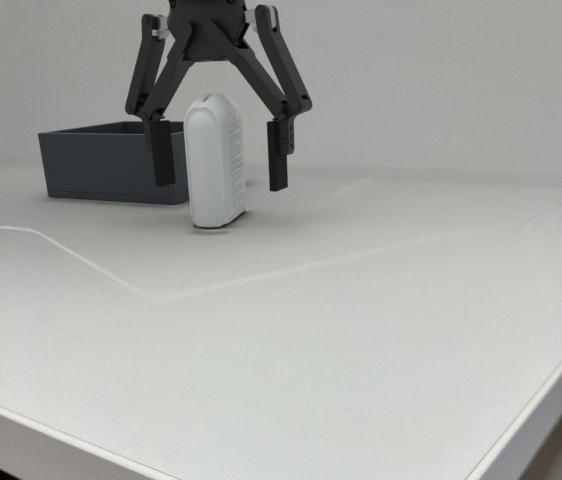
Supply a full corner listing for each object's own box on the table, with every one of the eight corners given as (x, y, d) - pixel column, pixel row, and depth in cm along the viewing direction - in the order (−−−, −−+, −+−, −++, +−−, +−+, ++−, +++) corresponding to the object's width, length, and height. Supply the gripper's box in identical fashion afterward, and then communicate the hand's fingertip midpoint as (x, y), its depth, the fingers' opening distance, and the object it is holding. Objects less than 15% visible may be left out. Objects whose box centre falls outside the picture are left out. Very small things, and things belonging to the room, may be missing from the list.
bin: (48, 196, 89) (37, 133, 86) (130, 175, 103) (123, 120, 100) (175, 204, 81) (168, 135, 78) (244, 181, 95) (241, 121, 92)
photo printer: (214, 208, 78) (206, 91, 73) (251, 208, 77) (245, 90, 72) (186, 228, 69) (174, 96, 64) (227, 229, 68) (219, 95, 63)
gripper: (345, -60, 61) (345, 185, 70) (118, -33, 71) (143, 177, 80) (312, -72, 55) (316, 198, 64) (69, -41, 65) (102, 188, 74)
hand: (220, 187), depth 72 cm, fingers open, 13 cm apart
